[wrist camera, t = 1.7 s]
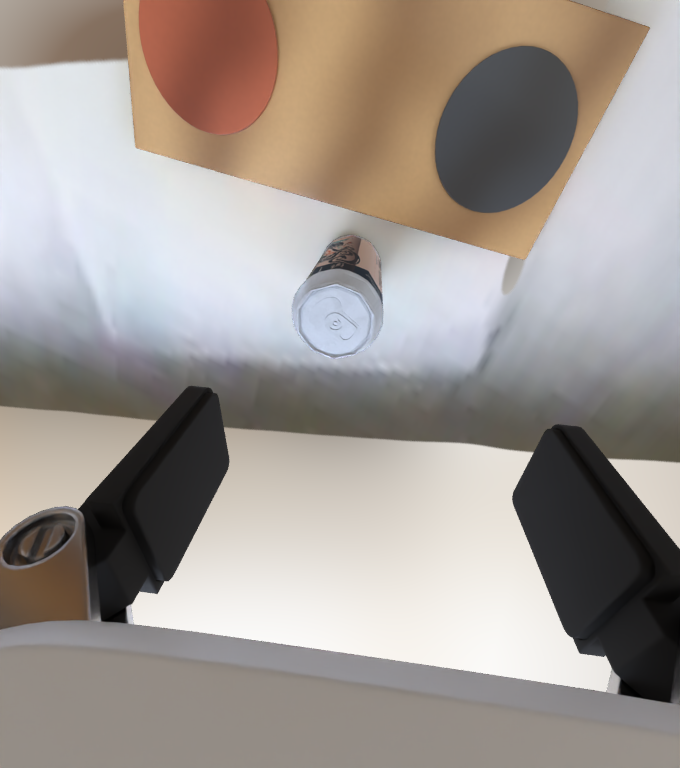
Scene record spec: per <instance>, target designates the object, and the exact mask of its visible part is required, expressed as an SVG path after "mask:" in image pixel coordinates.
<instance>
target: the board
mask: <svg viewBox="0 0 680 768" xmlns="http://www.w3.org/2000/svg"><path fill="white" fill-rule="evenodd" d="M123 5H124V16H125V29H126V40H127V53H128V65H129V77H130V89H131V101H132V113H133V125H134V137H135V147H136V148H138V149H141V150H145V151H148V152H152V153H155V154H159V155H162V156H165V157H169V158H172V159H176V160H179V161H183V162H186V163H190V164H193V165H197V166H200V167H204V168H207V169H211V170H214V171H217V172H221V173H224V174H228V175H231V176H235V177H238V178H242V179H245V180H249V181H252V182H256V183H259V184H262V185H266V186H269V187H273V188H276V189H280V190H283V191H287V192H290V193H294V194H297V195H301V196H304V197H308V198H311V199H314V200H318V201H321V202H325V203H328V204H332V205H335V206H339V207H342V208H346V209H349V210H353V211H356V212H360V213H363V214H366V215H370V216H373V217H377V218H380V219H384V220H387V221H391V222H394V223H398V224H401V225H405V226H408V227H412V228H415V229H418V230H422V231H425V232H429V233H432V234H436V235H439V236H443V237H446V238H450V239H453V240H457V241H460V242H464V243H467V244H470V245H474V246H477V247H481V248H484V249H488V250H491V251H495V252H498V253H502V254H505V255H509V256H512V257H516V258H519V259H522V260H525V259H526V258H527V256H528V254H529V252H530V250H531V248H532V246H533V245H534V243H535V241H536V239H537V237H538V235H539V233H540V232H541V230H542V228H543V226H544V224H545V222H546V220H547V219H548V217H549V215H550V213H551V211H552V209H553V207H554V206H555V204H556V202H557V200H558V198H559V196H560V194H561V193H562V191H563V189H564V187H565V185H566V183H567V181H568V180H569V178H570V176H571V174H572V172H573V170H574V168H575V167H576V165H577V163H578V161H579V159H580V157H581V155H582V154H583V152H584V150H585V148H586V146H587V144H588V142H589V141H590V139H591V137H592V135H593V133H594V131H595V129H596V128H597V126H598V124H599V122H600V120H601V118H602V116H603V115H604V113H605V111H606V109H607V107H608V105H609V103H610V102H611V100H612V98H613V96H614V94H615V92H616V90H617V89H618V87H619V85H620V83H621V81H622V79H623V77H624V76H625V74H626V72H627V70H628V68H629V66H630V64H631V63H632V61H633V59H634V57H635V55H636V53H637V51H638V50H639V48H640V46H641V44H642V42H643V40H644V38H645V37H646V35H647V33H648V31H649V29H650V27H648V26H645V25H642V24H639V23H636V22H633V21H630V20H627V19H624V18H621V17H618V16H615V15H612V14H609V13H606V12H603V11H600V10H597V9H594V8H591V7H588V6H585V5H582V4H579V3H576V2H573V1H570V0H123Z"/></svg>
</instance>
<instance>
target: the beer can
mask: <svg viewBox="0 0 680 768" xmlns="http://www.w3.org/2000/svg"><path fill="white" fill-rule="evenodd" d="M292 320H293V323H294V327H295V329H296V331H297V333H298V335H299V336H300V338H301V339H302V341H303V342H304V343H306V344H307V345H308V346H309V348H310V349H311V350H312V351H314V352H316V353H319V354H321V355H324V356H327V357H329V358H332V359H336V358H342V357H348V356H352V355H356V354H358V353H360V352H362V351H364V350H365V349H367V348H368V347H369V346H370V345H371V344H372V343H373V342H374V340H375V339H376V338H377V336H378V334H379V332H380V330H381V327H382V324H383V303H382V281H381V260H380V257H379V254H378V252H377V250H376V249H375V247H374V246H373V245H372V244H371V243H370V242H369V241H368V240H366V239H364V238H362V237H360V236H355V235H346V236H342V237H339V238H337V239H335V240H333V241H332V242H331V243H330V244H329V245H328V246H327V248H326V249H325V251H324V253H323V255H322V257H321V258H320V260H319V261H318V263H317V264H316V266H315V267H314V269H313V270H312V272H311V273H310V275H309V276H308V278H307V279H306V281H305V282H304V283H303V284H302V285H301V286H300V287H299V289H298V291H297V292H296V294H295V297H294V300H293V304H292Z"/></svg>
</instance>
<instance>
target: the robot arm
mask: <svg viewBox="0 0 680 768" xmlns="http://www.w3.org/2000/svg"><path fill="white" fill-rule="evenodd" d="M228 467H229V455H228V449H227V443H226V438H225V432H224V426H223V421H222V415H221V409H220V404H219V398H218V395H217V394H216V393H213V391H212V390H211V388H207V387H197V386H189V387H187V388H186V389H185V390H184V392H183V393H182V394H181V395H180V396H179V397H178V398H177V399H176V400H175V402H174V403H173V404H172V405H171V406H170V407H169V408H168V409H167V410H166V411H165V413H164V414H163V415H162V416H161V417H160V418H159V419H158V420H157V421H156V423H155V424H154V425H153V426H152V427H151V428H150V429H149V430H148V431H147V433H146V434H145V435H144V436H143V437H142V438H141V439H140V440H139V442H138V443H137V444H136V445H135V446H134V447H133V448H132V449H131V450H130V451H129V453H128V454H127V455H126V456H125V457H124V458H123V459H122V460H121V461H120V463H119V464H118V465H117V466H116V467H115V468H114V469H113V470H112V472H110V474H109V475H108V476H107V477H106V478H105V479H104V480H103V481H102V482H101V484H100V485H99V486H98V487H97V488H96V489H95V490H94V491H93V492H92V494H91V495H90V496H89V497H88V498H87V499H86V501H85V502H84V503H83V504H82V506H81V507H80V508H79V509H76V508H72V507H68V506H64V507H54V508H50V509H47V510H43V511H40V512H38V513H36V514H34V515H32V516H29V517H28V518H26V519H24V520H23V521H21V522H20V523H18V524H16V525H15V526H14V527H13V528H12V529H11V530H9V531H8V532H7V533H6V534H5V535H4V536H3V537H2V539H1V540H0V768H680V549H679V548H678V547H677V545H676V544H675V543H674V542H673V541H672V539H671V538H670V537H669V536H668V534H667V533H666V532H665V530H664V529H663V528H662V527H661V525H660V524H659V523H658V522H657V520H656V519H655V518H654V517H653V516H652V514H651V513H650V512H649V510H648V509H647V508H646V507H645V505H644V504H643V503H642V502H641V501H640V499H639V498H638V497H637V495H636V494H635V493H634V492H633V490H632V489H631V488H630V487H629V485H628V484H627V483H626V482H625V480H624V479H623V478H622V477H621V476H620V474H619V473H618V472H617V471H616V469H615V468H614V467H613V466H612V464H611V463H610V462H609V461H608V459H607V458H606V457H605V456H604V454H603V453H602V452H601V451H600V449H599V448H598V447H597V446H596V444H595V443H594V442H593V441H592V439H591V438H590V437H589V436H588V434H587V433H586V432H585V431H584V430H583V429H582V428H581V427H578V426H568V425H559V424H557V425H554V426H553V427H552V428H551V429H547V430H546V431H545V432H544V434H543V436H542V438H541V440H540V442H539V444H538V446H537V448H536V449H535V451H534V453H533V455H532V457H531V459H530V461H529V463H528V465H527V467H526V469H525V471H524V473H523V475H522V476H521V478H520V480H519V482H518V484H517V486H516V488H515V490H514V492H513V496H512V497H513V498H512V500H513V505H514V507H515V510H516V512H517V515H518V517H519V520H520V522H521V525H522V527H523V530H524V532H525V535H526V537H527V540H528V542H529V544H530V547H531V549H532V552H533V554H534V557H535V559H536V562H537V564H538V567H539V569H540V571H541V574H542V576H543V579H544V581H545V584H546V586H547V588H548V591H549V594H550V596H551V599H552V601H553V603H554V606H555V608H556V611H557V613H558V616H559V618H560V621H561V623H562V625H563V627H564V630H565V631H566V633H567V634H568V635H569V636H570V637H573V639H574V642H575V644H576V646H577V649H578V651H579V653H580V654H587V655H595V656H602V657H604V656H605V655H606V656H607V658H608V660H609V663H610V665H611V667H612V671H611V675H610V679H609V683H608V687H607V691H606V692H600V691H595V690H588V689H582V688H575V687H568V686H562V685H555V684H549V683H541V682H536V681H529V680H522V679H516V678H509V677H502V676H496V675H489V674H483V673H476V672H470V671H463V670H456V669H449V668H442V667H436V666H429V665H422V664H415V663H408V662H401V661H395V660H388V659H381V658H374V657H367V656H360V655H354V654H347V653H340V652H333V651H326V650H319V649H312V648H305V647H298V646H290V645H283V644H277V643H270V642H262V641H256V640H249V639H242V638H235V637H227V636H220V635H213V634H206V633H199V632H192V631H183V630H175V629H167V628H159V627H150V626H142V625H134V623H133V616H132V609H131V604H132V603H133V601H134V600H135V598H136V596H137V594H138V593H139V591H140V592H147V593H155V594H158V592H159V590H160V588H161V586H162V585H163V583H164V581H169V580H170V579H171V578H172V577H173V575H174V573H175V571H176V569H177V568H178V566H179V564H180V562H181V560H182V558H183V556H184V554H185V552H186V550H187V548H188V546H189V544H190V542H191V540H192V538H193V536H194V534H195V532H196V531H197V529H198V526H199V524H200V523H201V521H202V519H203V517H204V515H205V513H206V511H207V509H208V507H209V505H210V503H211V501H212V499H213V497H214V495H215V493H216V492H217V489H218V488H219V486H220V484H221V482H222V480H223V478H224V476H225V474H226V472H227V470H228Z"/></svg>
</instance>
